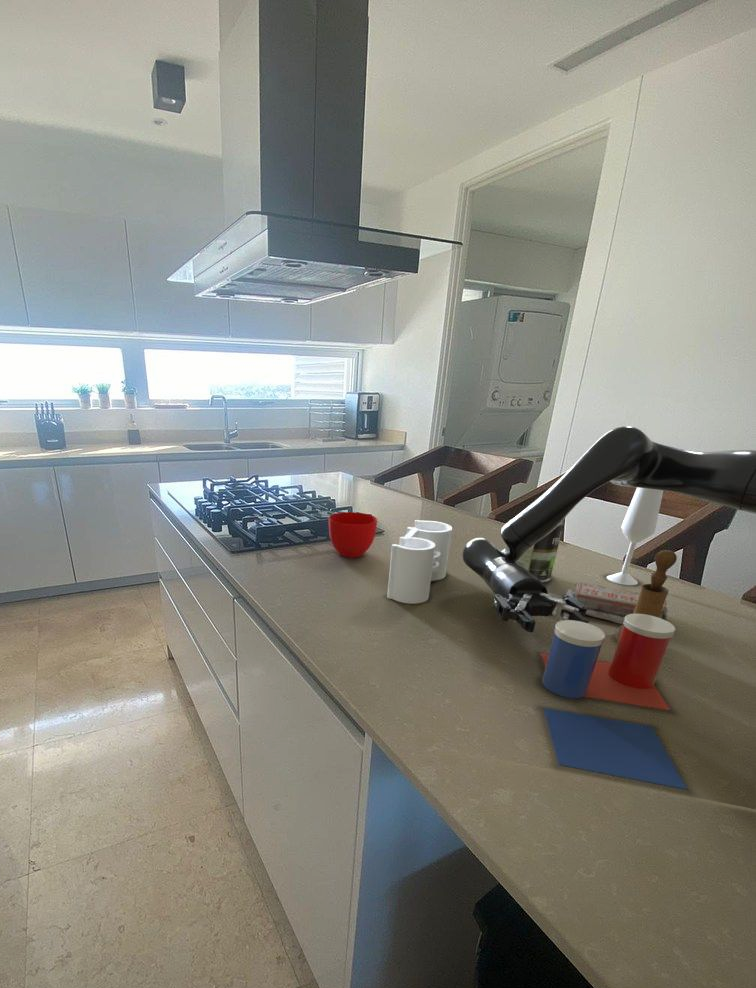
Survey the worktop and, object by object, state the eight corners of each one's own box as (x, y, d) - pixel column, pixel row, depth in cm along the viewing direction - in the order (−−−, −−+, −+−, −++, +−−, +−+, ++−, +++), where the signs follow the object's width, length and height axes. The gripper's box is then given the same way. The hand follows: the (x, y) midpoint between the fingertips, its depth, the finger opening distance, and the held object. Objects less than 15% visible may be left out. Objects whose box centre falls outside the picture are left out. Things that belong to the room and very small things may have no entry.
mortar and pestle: (619, 647, 88) (650, 553, 81) (613, 632, 94) (641, 542, 86) (661, 654, 86) (697, 559, 79) (653, 638, 92) (685, 547, 84)
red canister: (646, 670, 81) (665, 616, 77) (661, 692, 75) (683, 635, 71) (602, 663, 83) (619, 611, 78) (613, 685, 77) (632, 629, 73)
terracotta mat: (642, 669, 82) (642, 667, 82) (670, 711, 71) (670, 710, 71) (540, 654, 86) (540, 653, 86) (551, 692, 75) (552, 691, 75)
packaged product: (668, 593, 99) (671, 611, 92) (661, 615, 101) (663, 634, 94) (571, 575, 108) (566, 590, 100) (566, 595, 110) (560, 611, 102)
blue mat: (651, 727, 68) (651, 726, 68) (687, 791, 57) (687, 789, 57) (543, 709, 71) (543, 707, 71) (558, 766, 61) (558, 764, 61)
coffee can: (553, 573, 122) (566, 518, 117) (547, 586, 114) (561, 528, 109) (510, 565, 127) (521, 512, 122) (502, 577, 119) (513, 521, 113)
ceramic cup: (384, 546, 140) (387, 512, 136) (366, 564, 126) (368, 527, 122) (341, 540, 145) (343, 507, 141) (320, 557, 131) (321, 520, 126)
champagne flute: (643, 581, 118) (675, 482, 108) (630, 587, 115) (662, 485, 105) (614, 573, 123) (643, 477, 114) (601, 578, 120) (629, 480, 110)
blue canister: (582, 678, 78) (598, 623, 74) (592, 702, 73) (610, 643, 68) (538, 671, 80) (552, 617, 76) (544, 694, 74) (560, 637, 70)
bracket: (426, 607, 103) (433, 553, 98) (382, 598, 106) (387, 545, 101) (449, 570, 123) (456, 523, 118) (411, 563, 127) (416, 518, 122)
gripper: (483, 569, 91) (519, 606, 76) (557, 570, 91) (608, 606, 77) (476, 605, 94) (510, 647, 79) (549, 606, 95) (596, 647, 80)
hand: (558, 627), depth 78 cm, fingers open, 8 cm apart
